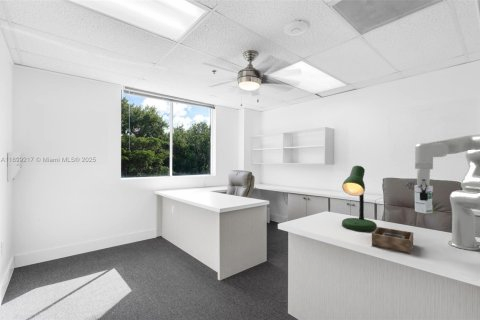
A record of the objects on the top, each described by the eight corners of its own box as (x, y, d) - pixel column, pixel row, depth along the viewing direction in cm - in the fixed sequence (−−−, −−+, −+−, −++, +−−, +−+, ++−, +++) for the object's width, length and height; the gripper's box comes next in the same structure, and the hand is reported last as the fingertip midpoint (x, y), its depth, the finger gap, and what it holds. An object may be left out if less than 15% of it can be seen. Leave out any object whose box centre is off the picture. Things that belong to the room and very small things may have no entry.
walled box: (413, 244, 134) (413, 232, 134) (410, 254, 120) (410, 240, 120) (377, 237, 146) (377, 226, 146) (371, 245, 132) (371, 233, 132)
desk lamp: (369, 237, 147) (369, 166, 147) (333, 230, 162) (333, 165, 162) (379, 226, 170) (379, 165, 170) (347, 221, 185) (347, 165, 185)
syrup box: (425, 213, 120) (425, 185, 120) (414, 211, 126) (414, 184, 126) (433, 213, 122) (433, 185, 122) (421, 210, 128) (421, 184, 128)
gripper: (415, 166, 133) (415, 196, 133) (414, 166, 120) (414, 200, 120) (432, 166, 129) (432, 198, 129) (433, 166, 115) (433, 202, 115)
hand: (423, 199), depth 124 cm, fingers closed on syrup box, 7 cm apart
